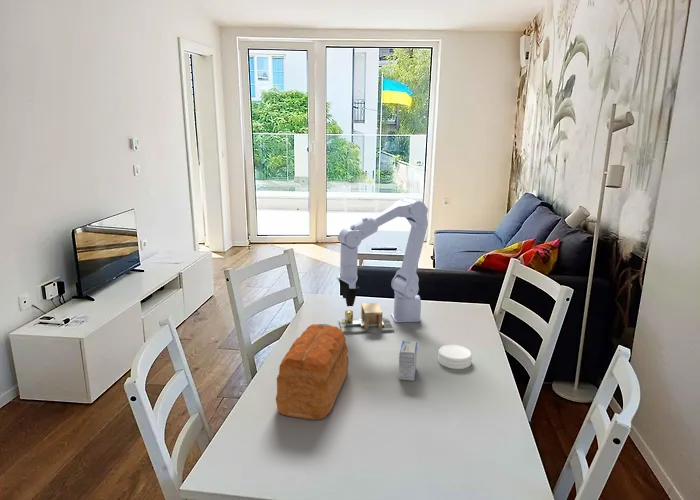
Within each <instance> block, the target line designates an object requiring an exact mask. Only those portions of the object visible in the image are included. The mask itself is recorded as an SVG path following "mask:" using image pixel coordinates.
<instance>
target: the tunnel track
mask: <svg viewBox="0 0 700 500" xmlns="http://www.w3.org/2000/svg"><path fill="white" fill-rule="evenodd" d="M360 308H361V313H360V317H361V318H359V317H358V318H353V321H359V319H364V313H365V324H364V327H361V325H348V326H346V323H345V318H338V322H339V323H338V324H339V326H340V328H339V329H340V330H342V331H343V333H344V335H349V334H351V335H354V334H374V333H375V334H376V333H378V334H380V333H382V334H383V333H394V332H395V329H394V327H393V325H392V323H391V320H390V319H389V317H383V310H382V308H381V306H380V304H379V302H369V303H368V302H367V303H365V302H363V303H361V306H360ZM375 314H378V326H369V327H368V320H369V315H375ZM382 321H383V323H384V326H382Z"/></svg>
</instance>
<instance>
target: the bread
mask: <svg viewBox="0 0 700 500" xmlns="http://www.w3.org/2000/svg"><path fill="white" fill-rule="evenodd" d="M315 324H316V323H314V324H310V325H309V326H307V327H306V329H305V330H304V331H302V333H301V335H300V336H299V337H296V339H295V341H293V343H292V345H291V346H290V348H289V350H288V352H287V353H286V354H285V355H284V357H283V359H282V360H281V362H280V364H279V369H278V375H277V377H276V396H275V403H276V407H277V410H278V413H279V414H281V415H283V416H286V417H292V418H297V419H304V420H305V419H306V420H312V421H315V420H316V421H317V420H324V419H325V417H327V416H328V415H329V414H330V413H331V411H332V409H333V406H334V404H335V402H336V399H337V398H338V395H339V393H340V390H341V388H342V387H343V384H344V382H345V381H346V377H347V375H348V372H349V365H350V364H349V363H350V362H349V356H348V353H349V348H348V346H347V338H346V334H344V333H343V331H342V330H341V328H339V327H338V326H335V325H332V326H326V327H324V326H322V325H315Z"/></svg>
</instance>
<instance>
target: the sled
mask: <svg viewBox="0 0 700 500" xmlns="http://www.w3.org/2000/svg"><path fill="white" fill-rule="evenodd" d="M344 319H345V323H346V326H348V325H361V327H364V324H365V313H364V319H359V321H353V319H354V310H351V309H346V310H345V311H344ZM369 326H378V314H375V315H369V320H368V327H369ZM382 326H384V323H383V321H382Z"/></svg>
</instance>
